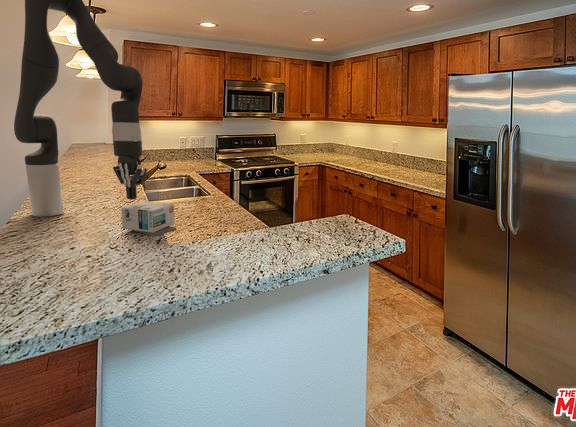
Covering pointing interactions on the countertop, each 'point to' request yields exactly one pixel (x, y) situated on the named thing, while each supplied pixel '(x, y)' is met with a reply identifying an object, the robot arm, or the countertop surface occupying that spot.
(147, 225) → the light bulb box
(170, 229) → the plate
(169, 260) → the countertop surface
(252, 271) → the countertop surface
